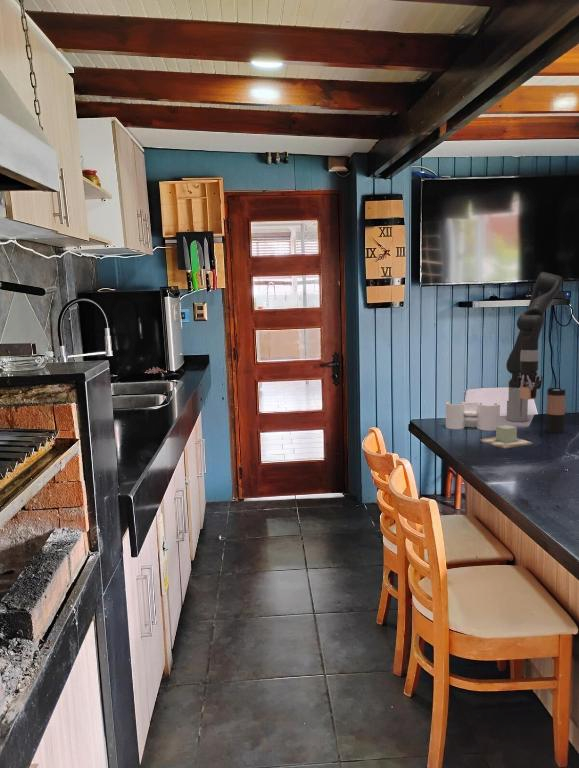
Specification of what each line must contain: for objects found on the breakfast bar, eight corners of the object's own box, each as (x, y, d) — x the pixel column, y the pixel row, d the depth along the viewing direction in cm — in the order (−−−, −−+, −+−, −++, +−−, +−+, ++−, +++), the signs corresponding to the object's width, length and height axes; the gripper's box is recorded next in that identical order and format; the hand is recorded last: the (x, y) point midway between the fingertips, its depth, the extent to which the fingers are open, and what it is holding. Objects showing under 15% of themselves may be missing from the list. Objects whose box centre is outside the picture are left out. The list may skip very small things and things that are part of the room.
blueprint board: (480, 440, 251) (480, 438, 251) (507, 437, 256) (507, 435, 256) (504, 448, 237) (504, 446, 237) (532, 444, 242) (532, 442, 242)
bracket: (445, 429, 276) (445, 404, 274) (446, 425, 285) (446, 401, 283) (500, 431, 269) (500, 405, 267) (498, 426, 278) (499, 402, 276)
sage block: (495, 439, 248) (496, 426, 247) (506, 438, 250) (507, 424, 250) (505, 442, 243) (505, 429, 242) (516, 441, 245) (517, 427, 244)
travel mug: (545, 432, 261) (546, 390, 258) (546, 429, 268) (547, 387, 265) (563, 434, 258) (565, 390, 255) (564, 430, 264) (565, 388, 262)
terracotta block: (520, 398, 258) (520, 387, 257) (528, 396, 260) (528, 386, 259) (528, 399, 253) (528, 388, 252) (536, 398, 255) (537, 387, 254)
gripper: (548, 360, 249) (547, 398, 251) (523, 358, 262) (522, 394, 264) (535, 361, 246) (534, 400, 248) (510, 359, 259) (510, 396, 262)
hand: (528, 397), depth 256 cm, fingers closed on terracotta block, 5 cm apart
